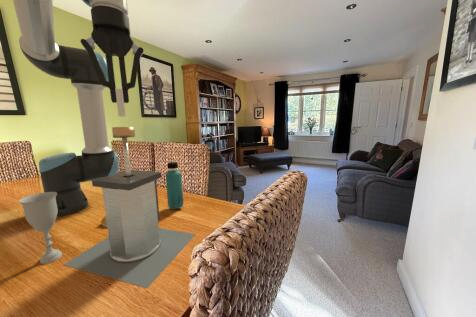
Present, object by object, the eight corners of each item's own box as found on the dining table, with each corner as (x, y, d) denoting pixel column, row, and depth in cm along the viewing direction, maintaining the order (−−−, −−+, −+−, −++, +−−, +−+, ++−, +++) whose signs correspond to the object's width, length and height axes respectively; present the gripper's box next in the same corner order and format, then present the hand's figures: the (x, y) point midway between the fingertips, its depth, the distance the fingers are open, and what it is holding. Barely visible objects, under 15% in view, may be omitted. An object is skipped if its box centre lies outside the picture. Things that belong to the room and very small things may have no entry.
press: (98, 258, 54) (86, 181, 50) (142, 227, 69) (136, 166, 65) (138, 267, 50) (128, 185, 46) (175, 233, 65) (170, 169, 61)
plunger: (104, 215, 53) (92, 127, 49) (132, 201, 62) (123, 126, 57) (133, 220, 50) (122, 128, 46) (157, 205, 59) (150, 126, 55)
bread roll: (96, 228, 71) (94, 217, 70) (115, 216, 79) (114, 206, 79) (117, 230, 69) (115, 219, 69) (134, 217, 78) (133, 208, 77)
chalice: (49, 251, 58) (37, 192, 54) (74, 250, 58) (64, 191, 55) (25, 270, 50) (9, 203, 47) (54, 268, 51) (40, 202, 48)
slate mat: (63, 266, 52) (63, 264, 52) (131, 224, 72) (130, 223, 72) (147, 290, 44) (147, 288, 44) (195, 235, 65) (195, 234, 65)
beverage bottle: (179, 212, 81) (176, 164, 78) (164, 211, 83) (160, 163, 79) (186, 206, 88) (184, 161, 84) (172, 205, 89) (169, 160, 85)
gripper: (70, -5, 40) (88, 115, 45) (142, 11, 46) (151, 115, 51) (78, 13, 47) (93, 116, 51) (140, 25, 53) (148, 116, 57)
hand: (122, 116), depth 51 cm, fingers closed
